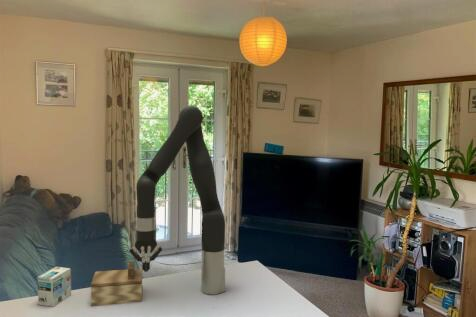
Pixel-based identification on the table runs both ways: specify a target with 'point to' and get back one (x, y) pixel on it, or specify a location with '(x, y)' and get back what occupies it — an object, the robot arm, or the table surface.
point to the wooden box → (116, 294)
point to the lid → (117, 277)
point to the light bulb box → (54, 286)
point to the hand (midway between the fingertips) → (145, 270)
